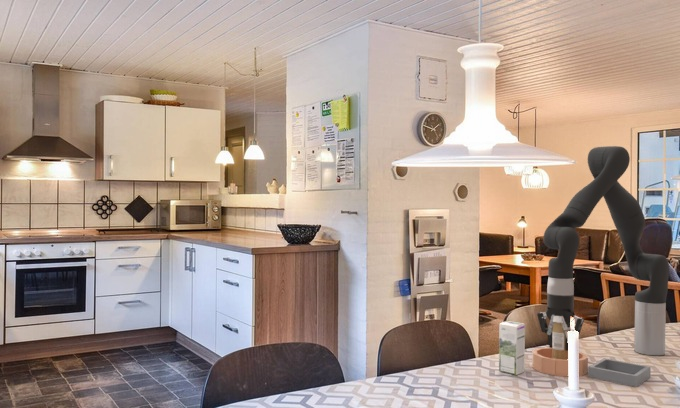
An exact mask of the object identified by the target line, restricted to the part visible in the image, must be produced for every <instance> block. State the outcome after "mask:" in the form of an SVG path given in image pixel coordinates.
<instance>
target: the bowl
mask: <svg viewBox="0 0 680 408" xmlns="http://www.w3.org/2000/svg"><path fill="white" fill-rule="evenodd" d="M531 355H532V359H531V366H532V368H533V370H536V371H537V372H540V373H541V374H546V375H552V376H556V377H557V376H559V377H568V376H567V375H568V360H562V359H553V358H552V348H550V347H537V348H535V349H533V350H532V352H531ZM567 358H568V351H567ZM588 367H589V357H588V355H587V354H586V353H584V352H581V351H579V376H578V377H580V376H584V375H586V374H588Z"/></svg>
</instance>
